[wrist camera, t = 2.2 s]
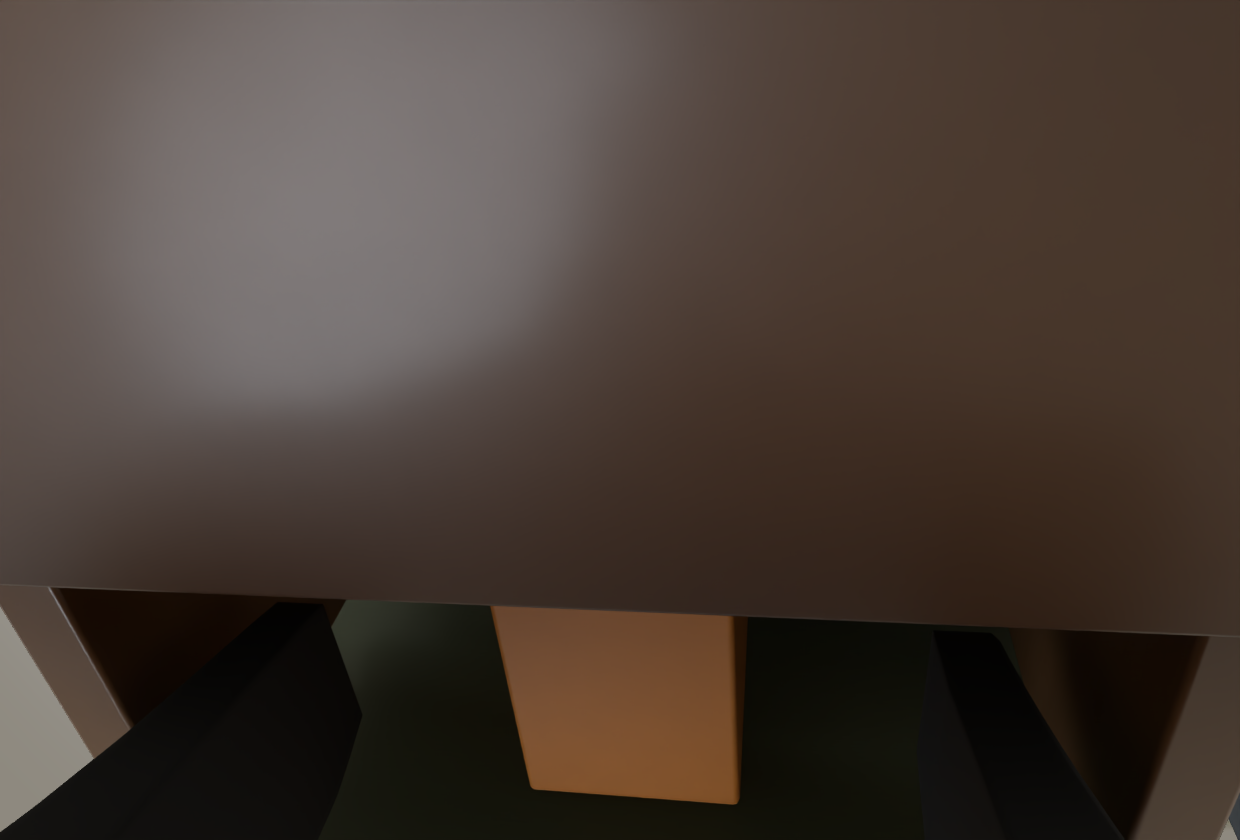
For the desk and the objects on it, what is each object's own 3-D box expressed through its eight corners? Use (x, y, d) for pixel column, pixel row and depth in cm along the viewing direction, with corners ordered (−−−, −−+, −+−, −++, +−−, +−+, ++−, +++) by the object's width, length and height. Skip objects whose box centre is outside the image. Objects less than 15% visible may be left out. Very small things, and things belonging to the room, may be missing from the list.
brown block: (748, 590, 15) (739, 808, 12) (582, 584, 16) (528, 791, 12) (745, 357, 13) (732, 546, 10) (549, 357, 13) (471, 539, 10)
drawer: (1020, 793, 19) (1122, 1218, 13) (391, 749, 21) (248, 1095, 15) (1252, -190, 10) (1896, -184, 4) (109, -81, 12) (-488, 19, 6)
